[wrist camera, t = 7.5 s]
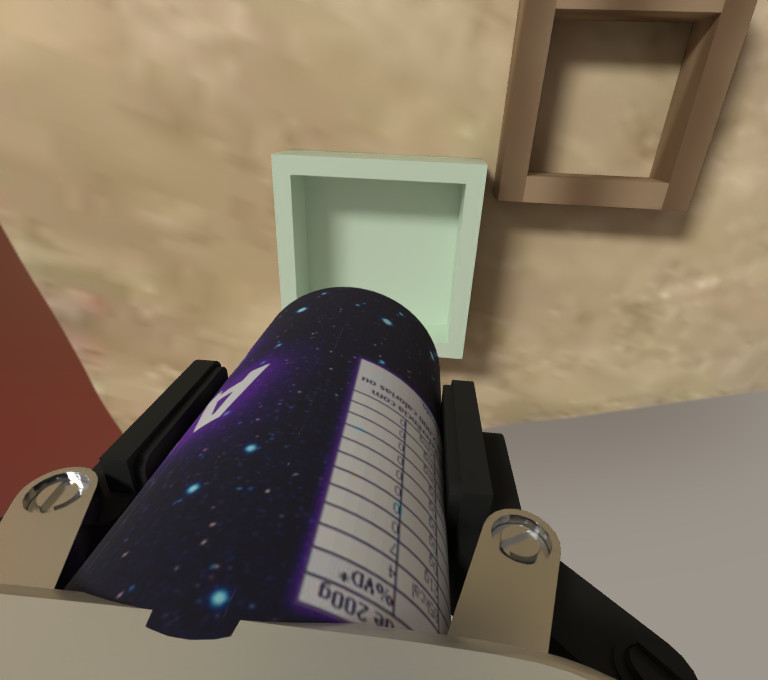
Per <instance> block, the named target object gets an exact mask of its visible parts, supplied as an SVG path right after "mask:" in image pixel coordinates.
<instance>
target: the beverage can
mask: <svg viewBox="0 0 768 680" xmlns="http://www.w3.org/2000/svg"><path fill="white" fill-rule="evenodd" d="M64 590H68V591H77V592H85V593H87V594H90V595H93V596H96V597H100V598H103V599H106V600H109V601H113V602H117V603H121V604H125V605H129V606H134V607H139V608H144V609H150V610H152V612H151V614H150V617H149V619H148V621H147V624H146V626H145V627H147V628H149V629H151V630H154V631H156V632H159V633H161V634H164V635H166V636H169V637H175V638H181V639H187V640H215V639H220V638H226V637H231V636H232V634H233V632H234V630H235V629H236V627H237V625H238V623H239V622H240V620H245V621H263V622H289V623H356V624H364V625H373V626H381V627H389V628H398V629H406V630H413V631H421V632H428V633H435V634H442V635H447V634H448V631H449V628H450V625H451V608H450V586H449V564H448V542H447V529H446V517H445V494H444V470H443V447H442V424H441V388H440V367H439V359H438V354H437V351H436V348H435V345H434V343H433V341H432V338H431V336H430V335H429V333H428V331H427V330H426V328H425V327H424V326H423V324H422V323H421V322H420V321H419V320H418V318H417V317H416V316H415V315H414V314H412V313H411V312H410V311H409V310H408V309H407V308H405V307H404V306H403V305H401V304H400V303H398V302H396V301H395V300H393V299H391V298H389V297H387V296H385V295H382V294H380V293H377V292H374V291H371V290H367V289H362V288H355V287H331V288H325V289H320V290H317V291H313V292H311V293H308V294H306V295H303V296H301V297H299V298H298V299H296V300H294V301H293V302H291V303H290V304H289V305H288V306H286V307H285V308H284V309H283V310H282V311H281V312H280V313H279V314H278V315H277V316H276V318H275V319H274V320H273V322H272V323H271V324H270V325H269V327H268V328H267V329H266V331H265V332H264V333H263V334H262V336H261V337H260V338H259V340H258V341H257V342H256V343H255V345H254V346H253V347H252V348H251V350H250V351H249V352H248V354H247V355H246V356H245V357H244V359H243V360H242V361H241V363H240V364H239V365H238V366H237V368H236V369H235V370H234V372H233V373H232V374H231V375H230V377H229V378H228V379H227V381H226V382H225V383H224V384H223V386H222V387H221V388H220V390H219V391H218V392H217V393H216V395H215V396H214V397H213V398H212V400H211V401H210V402H209V404H208V405H207V406H206V407H205V409H204V410H203V411H202V413H201V414H200V415H199V416H198V418H197V419H196V420H195V422H194V423H193V424H192V425H191V427H190V428H189V429H188V431H187V432H186V433H185V434H184V436H183V437H182V438H181V440H180V441H179V442H178V443H177V445H176V446H175V447H174V449H173V450H172V451H171V452H170V454H169V455H168V456H167V457H166V459H165V460H164V461H163V463H162V464H161V465H160V466H159V468H158V469H157V470H156V472H155V473H154V474H153V475H152V477H151V478H150V479H149V481H148V482H147V483H146V484H145V486H144V487H143V488H142V490H141V491H140V492H139V493H138V495H137V496H136V497H135V499H134V500H133V501H132V502H131V504H130V505H129V506H128V507H127V509H126V510H125V511H124V513H123V514H122V515H121V516H120V518H119V519H118V520H117V522H116V523H115V524H114V525H113V527H112V528H111V529H110V531H109V532H108V533H107V534H106V536H105V537H104V538H103V540H102V541H101V542H100V543H99V545H98V546H97V547H96V549H95V550H94V551H93V552H92V554H91V555H90V556H89V557H88V559H87V560H86V561H85V563H84V564H83V565H82V566H81V568H80V569H79V570H78V572H77V573H76V574H75V575H74V577H73V578H72V579H71V581H70V582H69V583H68V584H67V586H66V587H65V588H64Z"/></svg>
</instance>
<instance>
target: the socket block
mask: <svg viewBox="0 0 768 680" xmlns="http://www.w3.org/2000/svg"><path fill="white" fill-rule="evenodd" d="M756 3H757V0H520V1H519V9H518V16H517V23H516V30H515V37H514V44H513V51H512V58H511V66H510V73H509V80H508V87H507V94H506V101H505V108H504V115H503V123H502V130H501V137H500V144H499V151H498V158H497V165H496V172H495V180H494V187H493V195H494V197H495V198H496V199H497V200H498V201H513V202H531V203H549V204H568V205H586V206H604V207H623V208H641V209H659V210H678V211H688V208H689V205H690V202H691V199H692V196H693V193H694V190H695V187H696V184H697V181H698V178H699V175H700V172H701V169H702V166H703V163H704V160H705V157H706V154H707V151H708V148H709V144H710V141H711V138H712V135H713V132H714V129H715V126H716V123H717V120H718V117H719V114H720V111H721V108H722V105H723V102H724V99H725V96H726V93H727V90H728V87H729V84H730V81H731V78H732V75H733V72H734V69H735V66H736V63H737V60H738V57H739V54H740V51H741V48H742V45H743V42H744V39H745V36H746V33H747V30H748V27H749V24H750V21H751V18H752V15H753V12H754V9H755V6H756ZM554 19H571V20H608V21H646V22H684V23H694V24H693V27H692V31H691V34H690V38H689V41H688V45H687V48H686V52H685V55H684V59H683V62H682V66H681V69H680V73H679V76H678V80H677V83H676V87H675V90H674V94H673V97H672V101H671V104H670V108H669V111H668V115H667V118H666V121H665V125H664V128H663V132H662V135H661V139H660V142H659V146H658V149H657V153H656V156H655V160H654V163H653V167H652V170H651V174H650V177H649V178H643V177H623V176H603V175H583V174H563V173H542V172H528V167H529V162H530V156H531V150H532V144H533V138H534V132H535V126H536V121H537V115H538V109H539V103H540V97H541V91H542V85H543V79H544V74H545V68H546V62H547V56H548V50H549V44H550V38H551V33H552V27H553V21H554Z"/></svg>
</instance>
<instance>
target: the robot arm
mask: <svg viewBox="0 0 768 680" xmlns="http://www.w3.org/2000/svg"><path fill="white" fill-rule="evenodd" d="M227 379H228V373H227V369H226V368H225V367H221V364H220V363H219V362H218V361H209V360H195V361H194V362H193V363H192V364H191V365H190V366H189V367H188V368H187V369H186V370H185V371H184V372H183V373H182V374H181V375H180V376H179V377H178V378H177V379H176V380H175V381H174V382H173V383H172V384H171V385H170V386H169V387H168V388H167V390H166V391H165V392H164V393H163V394H162V395H161V396H160V397H159V398H158V399H157V400H156V401H155V402H154V403H153V404H152V405H151V406H150V407H149V408H148V409H147V410H146V411H145V412H144V413H143V414H142V415H141V416H140V417H139V418H138V419H137V420H136V421H135V422H134V423H133V424H132V425H131V426H130V427H129V428H128V429H127V430H126V431H125V432H124V433H123V434H122V436H121V437H120V438H119V439H118V440H117V441H116V442H115V443H114V444H113V445H112V446H111V447H110V448H109V449H108V450H107V451H106V452H105V453H104V454H103V455H102V456H101V457H100V458H99V459H100V462H99V463H98V464H97V465H96V466H95V467H94V468H93V469H92V470H91V469H88V468H83V467H69V468H64V469H59V470H56V471H53V472H50V473H48V474H45V475H43V476H41V477H39V478H38V479H36V480H34V481H32V482H31V483H30V484H28V485H27V486H26V487H25V488H23V489H22V490H21V492H20V493H19V494H18V495H17V496H16V497H15V499H14V501H13V502H12V504H11V506H10V507H9V509H8V511H7V512H6V514H5V515H4V517H1V518H0V680H697V677H696V675H695V673H694V671H693V670H692V669H691V667H690V666H689V665H688V663H687V662H686V661H685V659H684V658H683V657H682V656H681V655H680V654H679V653H678V652H677V651H676V650H675V649H673V648H672V647H671V646H670V645H669V644H668V643H667V642H665V641H664V640H663V639H661V638H660V637H659V636H658V635H656V634H655V633H654V632H652V631H651V630H650V629H648V628H647V627H646V626H645V625H643V624H642V623H641V622H639V621H638V620H637V619H635V618H634V617H633V616H632V615H630V614H629V613H628V612H626V611H625V610H624V609H622V608H621V607H620V606H618V605H617V604H616V603H615V602H613V601H612V600H611V599H609V598H608V597H607V596H605V595H604V594H603V593H602V592H600V591H599V590H597V589H596V588H595V587H593V586H592V585H591V584H590V583H588V582H587V581H586V580H585V579H583V578H582V577H580V576H579V575H578V574H576V573H575V572H574V571H573V570H572V569H570V568H569V567H568V566H566V565H565V564H564V563H562V562H561V561H560V555H561V550H560V542H559V540H558V537H557V535H556V533H555V532H554V531H553V530H552V528H551V527H550V526H549V525H548V524H547V523H546V522H544V521H543V520H542V519H541V518H539V517H538V516H536V515H533V514H531V513H529V512H527V511H523V510H521V506H520V502H519V498H518V494H517V490H516V485H515V482H514V477H513V473H512V469H511V465H510V460H509V456H508V452H507V448H506V444H505V440H504V436H503V435H502V434H499V433H486V432H482V427H481V421H480V416H479V410H478V404H477V398H476V392H475V387H474V382H473V381H460V380H452V382H451V385H444V386H443V393H442V402H441V424H442V447H443V470H444V494H445V517H446V529H447V542H448V564H449V586H450V608H451V615H452V616H453V618H452V622H451V625H450V628H449V631H448V634H447V635H442V634H435V633H428V632H421V631H413V630H406V629H398V628H389V627H381V626H373V625H364V624H356V623H289V622H263V621H245V620H240V622H239V623H238V625H237V627H236V629H235V630H234V632H233V634H232V636H231V637H226V638H220V639H215V640H187V639H181V638H175V637H169V636H166V635H164V634H161V633H159V632H156V631H154V630H151V629H149V628H147V627H145V626H146V624H147V621H148V619H149V617H150V614H151V612H152V610H150V609H144V608H139V607H134V606H129V605H125V604H121V603H117V602H113V601H109V600H106V599H103V598H100V597H96V596H93V595H90V594H87V593H85V592H77V591H68V590H64V588H65V587H66V586H67V584H68V583H69V582H70V581H71V579H72V578H73V577H74V575H75V574H76V573H77V572H78V570H79V569H80V568H81V566H82V565H83V564H84V563H85V561H86V560H87V559H88V557H89V556H90V555H91V554H92V552H93V551H94V550H95V549H96V547H97V546H98V545H99V543H100V542H101V541H102V540H103V538H104V537H105V536H106V534H107V533H108V532H109V531H110V529H111V528H112V527H113V525H114V524H115V523H116V522H117V520H118V519H119V518H120V516H121V515H122V514H123V513H124V511H125V510H126V509H127V507H128V506H129V505H130V504H131V502H132V501H133V500H134V499H135V497H136V496H137V495H138V493H139V492H140V491H141V490H142V488H143V487H144V486H145V484H146V483H147V482H148V481H149V479H150V478H151V477H152V475H153V474H154V473H155V472H156V470H157V469H158V468H159V466H160V465H161V464H162V463H163V461H164V460H165V459H166V457H167V456H168V455H169V454H170V452H171V451H172V450H173V449H174V447H175V446H176V445H177V443H178V442H179V441H180V440H181V438H182V437H183V436H184V434H185V433H186V432H187V431H188V429H189V428H190V427H191V425H192V424H193V423H194V422H195V420H196V419H197V418H198V416H199V415H200V414H201V413H202V411H203V410H204V409H205V407H206V406H207V405H208V404H209V402H210V401H211V400H212V398H213V397H214V396H215V395H216V393H217V392H218V391H219V390H220V388H221V387H222V386H223V384H224V383H225V382H226V381H227Z"/></svg>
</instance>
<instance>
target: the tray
mask: <svg viewBox="0 0 768 680" xmlns="http://www.w3.org/2000/svg"><path fill="white" fill-rule="evenodd" d="M271 160H272V175H273V189H274V204H275V218H276V233H277V247H278V262H279V276H280V291H281V305H282V310H283V309H284V308H285V307H286V306H288V305H289V304H290V303H291V302H293V301H294V300H296V299H298V298H299V297H301V296H303V295H306V294H308V293H311V292H313V291H317V290H320V289H325V288H331V287H355V288H362V289H367V290H371V291H374V292H377V293H380V294H382V295H385V296H387V297H389V298H391V299H393V300H395V301H396V302H398V303H400V304H401V305H403V306H404V307H405V308H407V309H408V310H409V311H410V312H411V313H412V314H414V315H415V316H416V317H417V318H418V320H419V321H420V322H421V323H422V324H423V326H424V327H425V328H426V330H427V331H428V333H429V335H430V336H431V338H432V341H433V343H434V345H435V348H436V351H437V354H438V357H443V358H455V359H462V357H463V349H464V341H465V334H466V326H467V319H468V311H469V304H470V296H471V288H472V281H473V273H474V266H475V258H476V251H477V243H478V236H479V228H480V220H481V213H482V205H483V198H484V190H485V183H486V175H487V167H488V164H486V163H485V162H484V161H483V160H481V159H475V158H455V157H434V156H413V155H392V154H372V153H351V152H330V151H310V150H288V151H283V152H279V153H274V154H271Z"/></svg>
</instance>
